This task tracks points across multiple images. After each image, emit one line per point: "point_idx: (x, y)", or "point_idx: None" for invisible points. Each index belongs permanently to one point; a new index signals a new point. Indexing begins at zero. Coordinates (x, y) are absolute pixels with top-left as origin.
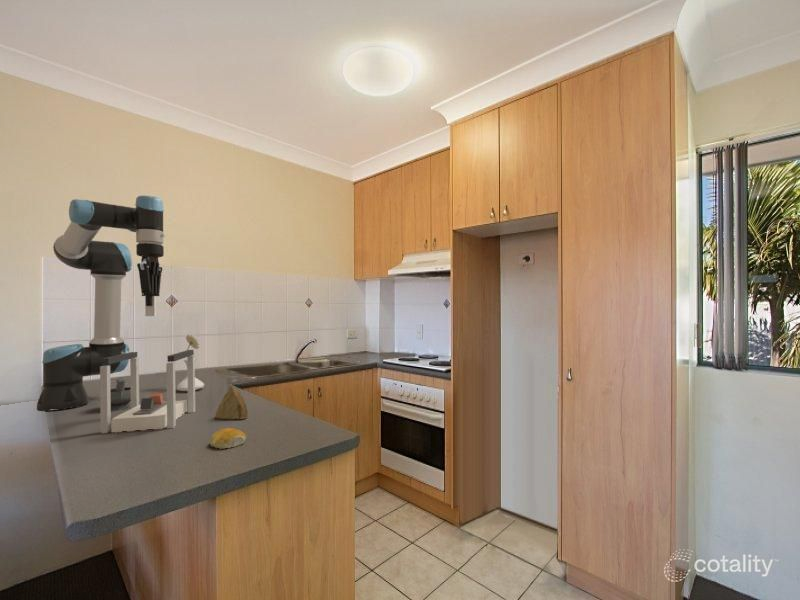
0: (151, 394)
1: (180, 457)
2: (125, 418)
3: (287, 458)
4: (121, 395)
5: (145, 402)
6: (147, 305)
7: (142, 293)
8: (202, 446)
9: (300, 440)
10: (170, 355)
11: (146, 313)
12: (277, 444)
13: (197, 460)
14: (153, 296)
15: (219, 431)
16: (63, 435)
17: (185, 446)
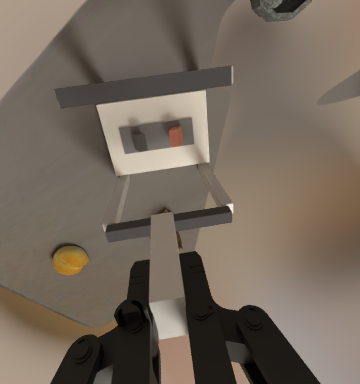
0: (174, 130)
1: (28, 235)
2: (102, 126)
3: (42, 305)
4: (257, 8)
5: (135, 141)
6: (136, 268)
7: (80, 341)
8: (60, 240)
9: (85, 302)
10: (113, 234)
11: (152, 227)
12: (73, 291)
13: (24, 252)
14: (159, 334)
15: (66, 259)
16: (84, 19)
17: (58, 225)
